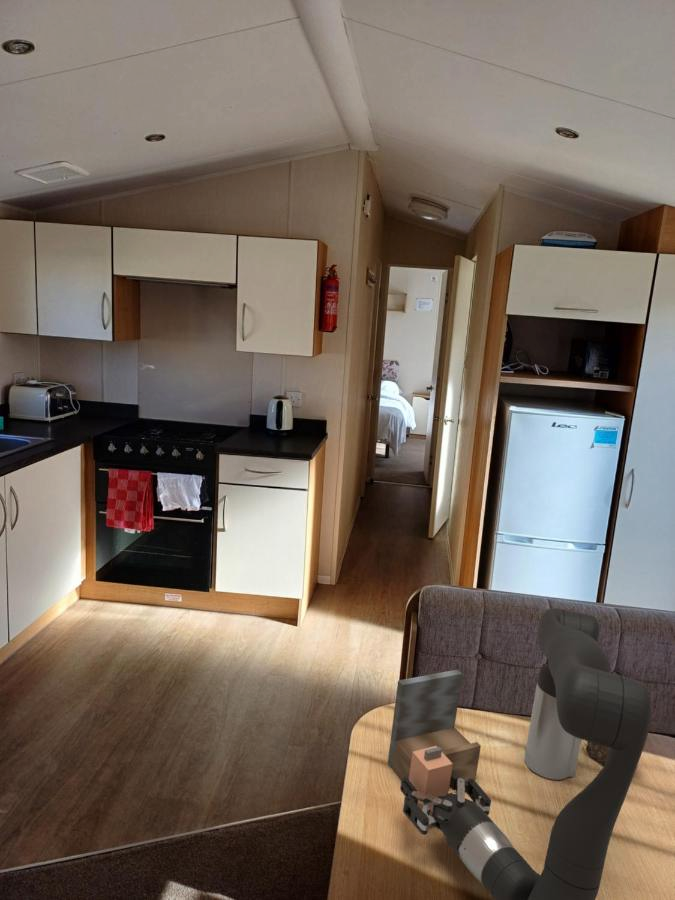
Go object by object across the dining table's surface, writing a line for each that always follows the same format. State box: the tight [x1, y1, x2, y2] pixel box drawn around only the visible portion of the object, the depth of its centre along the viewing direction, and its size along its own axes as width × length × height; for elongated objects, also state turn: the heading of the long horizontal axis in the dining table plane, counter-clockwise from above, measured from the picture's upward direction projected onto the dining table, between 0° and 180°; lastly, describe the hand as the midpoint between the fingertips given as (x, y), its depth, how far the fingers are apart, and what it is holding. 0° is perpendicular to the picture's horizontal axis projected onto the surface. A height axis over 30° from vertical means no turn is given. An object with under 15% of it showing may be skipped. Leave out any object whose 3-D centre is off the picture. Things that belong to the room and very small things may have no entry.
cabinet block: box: [409, 746, 453, 829], centre depth 114 cm, size 5×5×14 cm
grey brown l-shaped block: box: [387, 669, 482, 788], centre depth 125 cm, size 14×10×18 cm
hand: (423, 776), depth 115 cm, fingers open, 8 cm apart
